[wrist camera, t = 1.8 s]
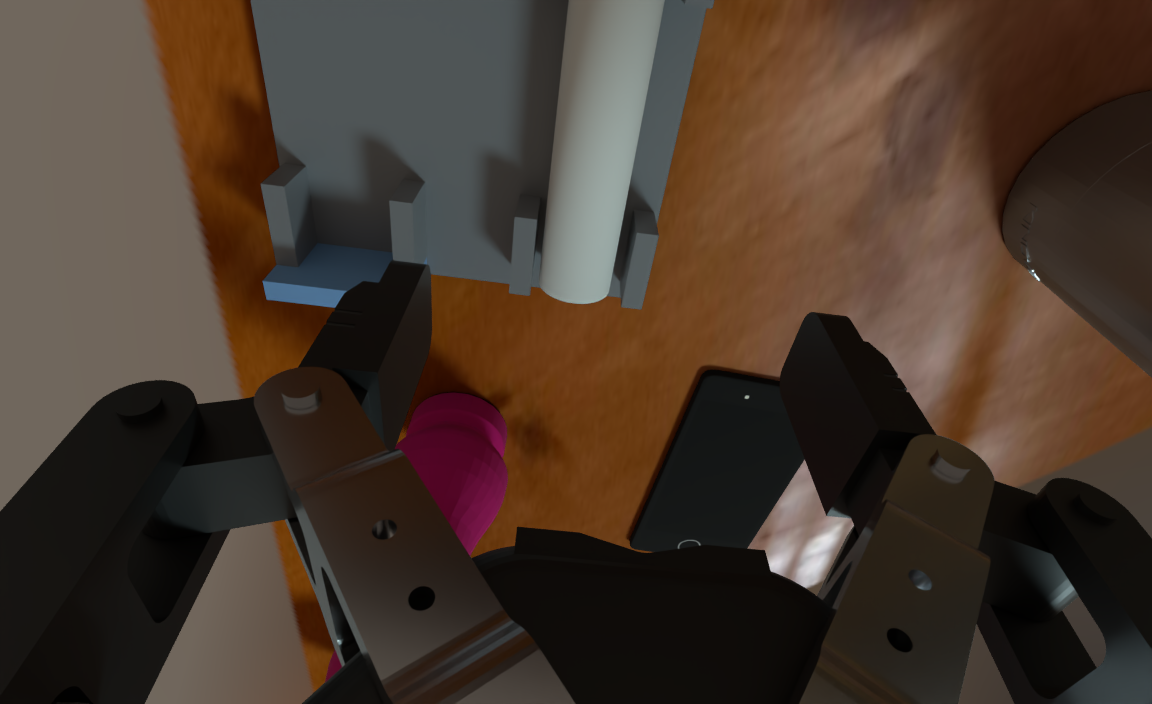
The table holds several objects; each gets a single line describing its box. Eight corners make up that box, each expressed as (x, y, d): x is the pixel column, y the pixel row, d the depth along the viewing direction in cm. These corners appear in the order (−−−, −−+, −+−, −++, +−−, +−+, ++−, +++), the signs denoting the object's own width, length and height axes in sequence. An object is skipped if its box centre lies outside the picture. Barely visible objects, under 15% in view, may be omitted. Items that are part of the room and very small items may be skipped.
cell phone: (628, 538, 47) (628, 549, 46) (703, 363, 36) (706, 373, 35) (734, 554, 48) (737, 564, 47) (839, 388, 37) (844, 398, 36)
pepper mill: (385, 396, 38) (235, 758, 22) (492, 375, 37) (415, 742, 21) (431, 471, 42) (333, 820, 26) (529, 454, 41) (488, 810, 25)
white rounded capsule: (590, -136, 21) (576, -143, 18) (687, -120, 21) (689, -125, 18) (545, 260, 31) (532, 295, 28) (612, 273, 31) (605, 309, 28)
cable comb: (220, -255, 20) (128, -292, 16) (740, -165, 21) (775, -179, 17) (302, 248, 32) (261, 298, 28) (638, 290, 33) (644, 344, 29)
